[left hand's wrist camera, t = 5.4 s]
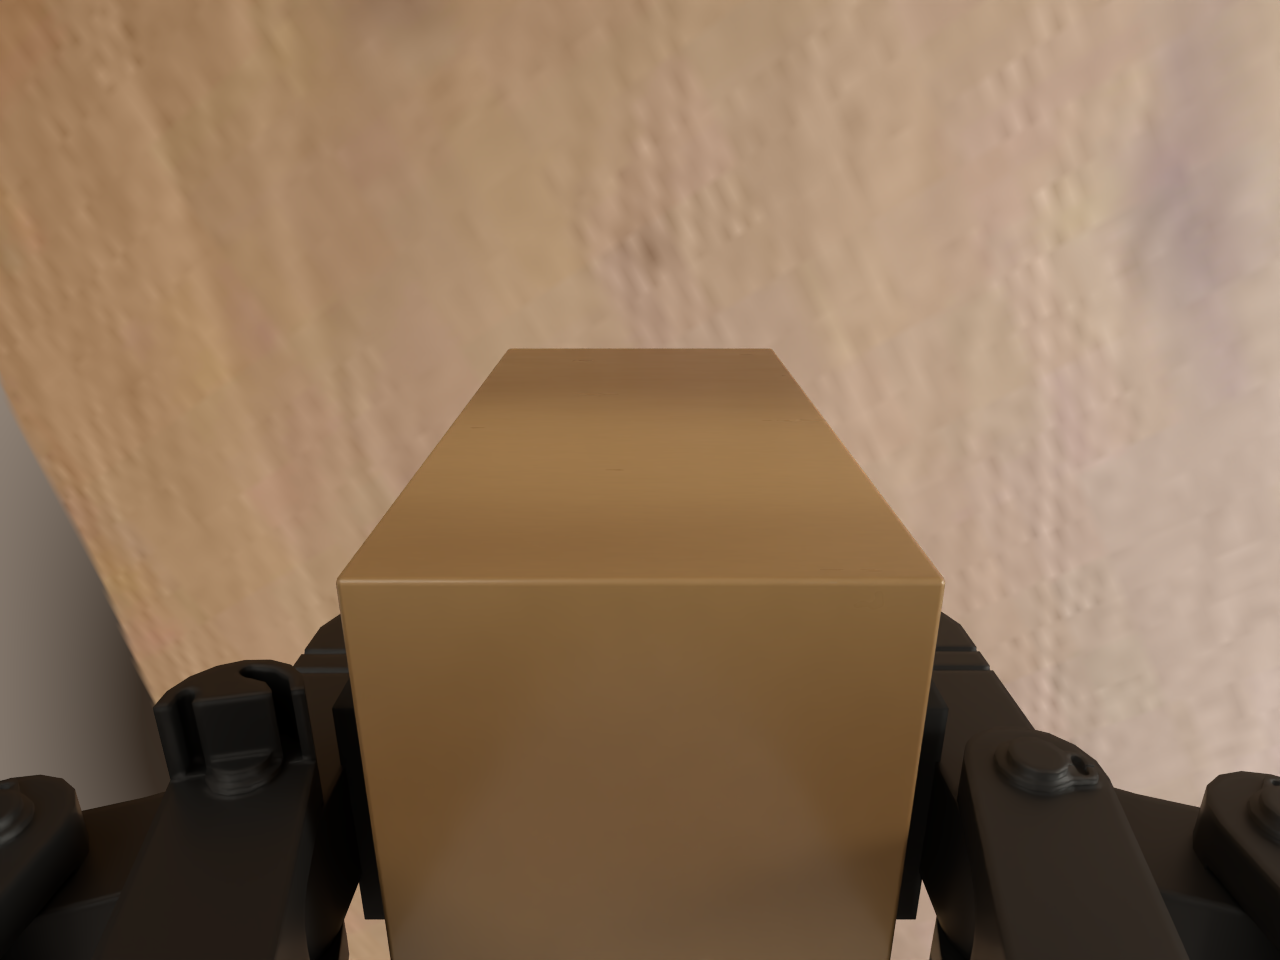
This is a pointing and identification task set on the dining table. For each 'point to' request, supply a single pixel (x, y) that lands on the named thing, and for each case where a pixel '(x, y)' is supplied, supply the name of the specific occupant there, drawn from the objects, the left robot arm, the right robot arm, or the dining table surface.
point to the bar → (640, 671)
